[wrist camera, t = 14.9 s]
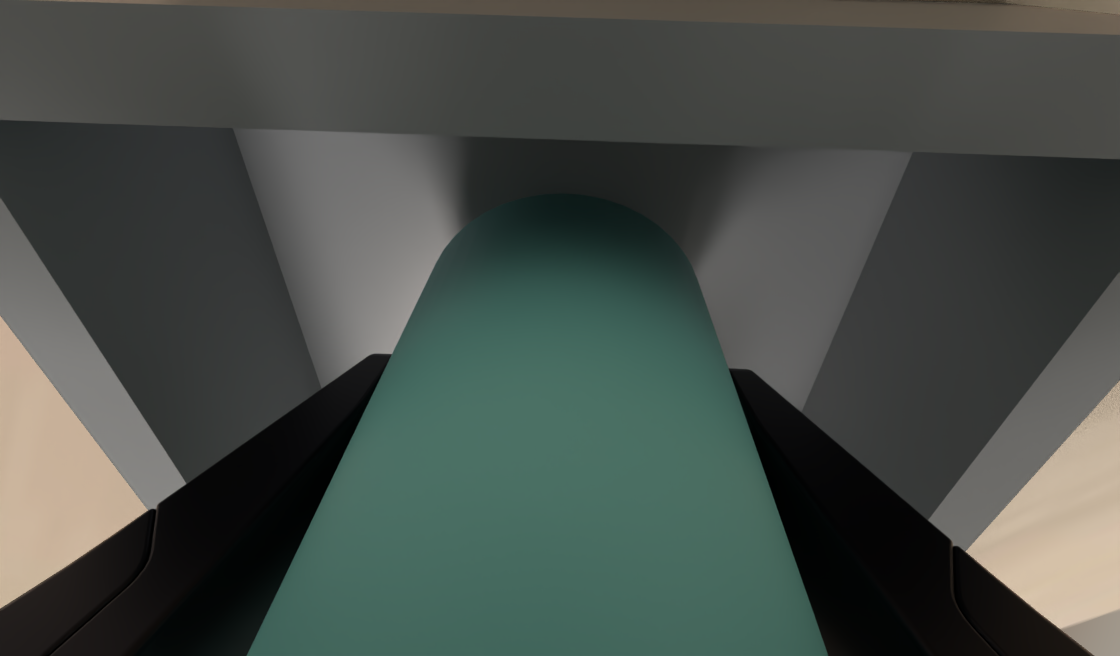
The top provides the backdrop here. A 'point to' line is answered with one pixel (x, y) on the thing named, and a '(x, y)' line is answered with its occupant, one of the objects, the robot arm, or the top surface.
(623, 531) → the teal capsule
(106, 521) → the top surface
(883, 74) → the grey rectangular tray
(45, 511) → the top surface
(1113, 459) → the top surface
